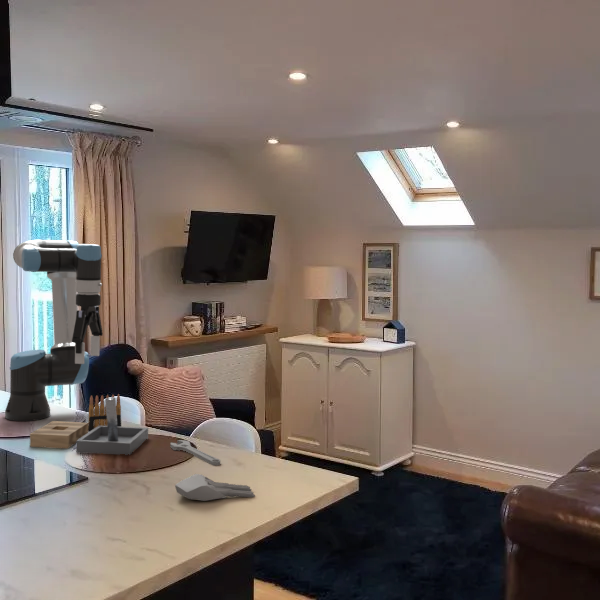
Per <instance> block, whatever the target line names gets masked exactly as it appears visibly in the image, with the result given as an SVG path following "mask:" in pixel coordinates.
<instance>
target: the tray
mask: <svg viewBox="0 0 600 600" xmlns="http://www.w3.org/2000/svg"><path fill="white" fill-rule="evenodd" d="M117 428H118V442H114V441H108V429H107V426H97V427H96V428H94V429H93V430H91V431H90V432H89V431H88V433H87V434H85V435H84V436H82V437H81V438H80V439H78V440H77V441H76V444H75V446H76V447H75V449H76V450H75V452H76V453H82V454H83V453H85V454H101V453H103V454H104V455H120V454H125V455H124V456H131V455H132V454H133V453H134V452H135V451H136V450H137V449H139V447H141V445H143V444H142V443H143V442H144V441H145V440H146V439H147V440H148V439H149V427H136V426H135V427H134V426H121V427H119V426H117ZM147 440H146V441H147ZM146 441H145V442H146ZM145 442H144V443H145ZM135 449H136V450H135ZM134 450H135V451H134ZM133 451H134V452H133ZM132 452H133V453H132ZM128 454H129V455H128Z"/></svg>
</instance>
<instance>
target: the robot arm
mask: <svg viewBox="0 0 600 600" xmlns="http://www.w3.org/2000/svg"><path fill="white" fill-rule="evenodd" d="M12 256H13V261H14V263H15V264H16V266H17V267H19V268H21V269H22V270H23V271H24V272H29V273H30V272H32V273H38V272H39V273H42V272H43V273H46V276H47V278H48V279H49V280H50V281H51V295H52V296H51V297H52V316H53V317H52V321H53V341H54V343H53V345H52V346H51V347H50V353H47V352H46V351H45V350H44V349H31V350H30V349H29V350H24V351H20V352H17V353H14V354H13V355H12V356H11V357H10V363H9V365H10V366H9V370H10V372H9V373H10V376H9V377H10V382H9V383H10V384H9V385H10V389H9V390H10V396H9V398H8V402H7V404H6V406H5V407H6V408H5V410H4V418H5V419H7V420H9V421H16V422H29V421H37V420H38V421H40V420H43V419H47V418H48V417H50V416H51V407H50V404H49V401H48V399H47V396H46V387H53V386H69V385H71V386H73V385H78V384H79V385H80V384H84V382H85V381H86V379H87V377H88V374H89V369H90V367H89V366H90V357H91V356H93V357H99V356H100V344H101V343H100V342H101V341H100V337H102V336H103V327H102V321H101V320H102V319H101V316H100V315H101V314H100V306H101V298H102V297H101V295H102V294H100V293H101V289H102V286H103V283H102V281H101V280H102V279H101V277H102V257H103V255H102V247H101V245H99V244H93V243H92V244H89V243H79V242H78V241H75V240H68V239H64V240H62V239H58V240H57V239H55V240H54V239H32V240H27V241H23V242H22V243H19V244H18V245H16V246H15V248H14V250H13V253H12ZM78 307H80V310H78ZM88 326H89V329H90V333H91V336H90V354H89V352H87V351H85V347H86V346H85V345H86V344H85V342H84V341H85V337H86V334H87V330H88ZM89 355H90V356H89Z"/></svg>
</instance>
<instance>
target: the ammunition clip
mask: <svg viewBox="0 0 600 600" xmlns="http://www.w3.org/2000/svg"><path fill="white" fill-rule="evenodd" d="M111 397H113V398H115V395H114V394H112V396H111ZM106 398H110V396H109V394H107V395H106V396H105V399H106ZM105 399H104V395H103V394H102V395H101V396H100V399H99V395H96V396H95V399H94V398H93V395H90V397H89V405H88V422H87V423H88V432H90V431H91V430H93V429H94V428H96V427H97V426H107V416H106V404H105ZM99 400H100V403H99ZM121 412H122V405H121V397H120V394H119V393H118V394H117V396H116V414H117V426H119V427H122V413H121Z"/></svg>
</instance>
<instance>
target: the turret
mask: <svg viewBox="0 0 600 600" xmlns="http://www.w3.org/2000/svg"><path fill="white" fill-rule="evenodd" d="M174 486H175V490H176V493H177V494H179V496H183V497H185V498H186V499H188V500H191V501H192V500H197V501H202V502H203V501H204V502H205V501H212V500H220V499H227V497H236V498H237V497H238V498H255V497H256V495H255V493H254V492H253V491H252V488H251V486H248V485H247V484H246V485H245V484H244V485H243V484H232V483H228V482H219V481H218V482H216V481H213V480H212V479H210V478H209V477H207V476H205V475H203V474H199V473H195V474H192V475H191V476H189V477H186V478H185V479H182V480H180V481H179V482H178V483H176V484H174Z"/></svg>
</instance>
